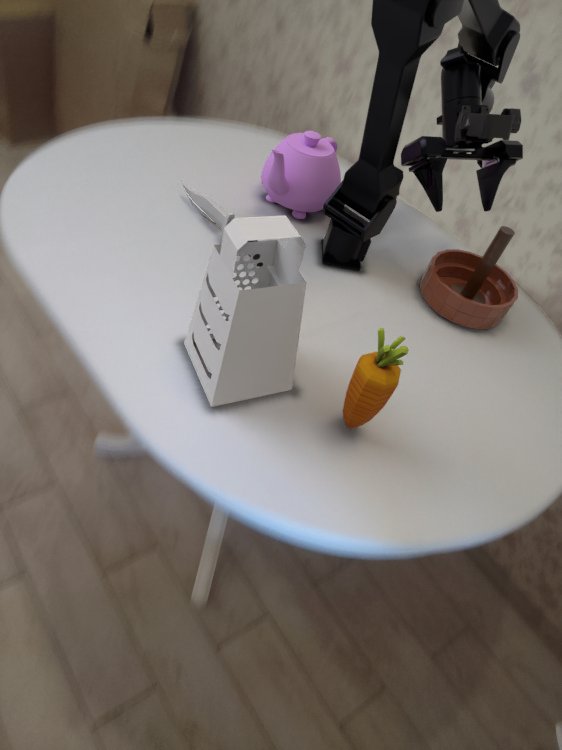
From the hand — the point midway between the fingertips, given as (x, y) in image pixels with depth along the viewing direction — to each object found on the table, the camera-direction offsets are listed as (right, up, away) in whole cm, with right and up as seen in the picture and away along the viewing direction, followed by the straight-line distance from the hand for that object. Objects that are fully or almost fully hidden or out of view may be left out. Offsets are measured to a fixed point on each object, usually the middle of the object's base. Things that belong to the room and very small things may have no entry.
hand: (463, 211), depth 80 cm
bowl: (+1, -13, +4) cm, 14 cm away
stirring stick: (+2, -13, +4) cm, 14 cm away
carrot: (-20, -32, -18) cm, 42 cm away
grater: (-34, -25, -16) cm, 45 cm away
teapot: (-26, +6, +14) cm, 30 cm away
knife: (-38, -3, +2) cm, 38 cm away
